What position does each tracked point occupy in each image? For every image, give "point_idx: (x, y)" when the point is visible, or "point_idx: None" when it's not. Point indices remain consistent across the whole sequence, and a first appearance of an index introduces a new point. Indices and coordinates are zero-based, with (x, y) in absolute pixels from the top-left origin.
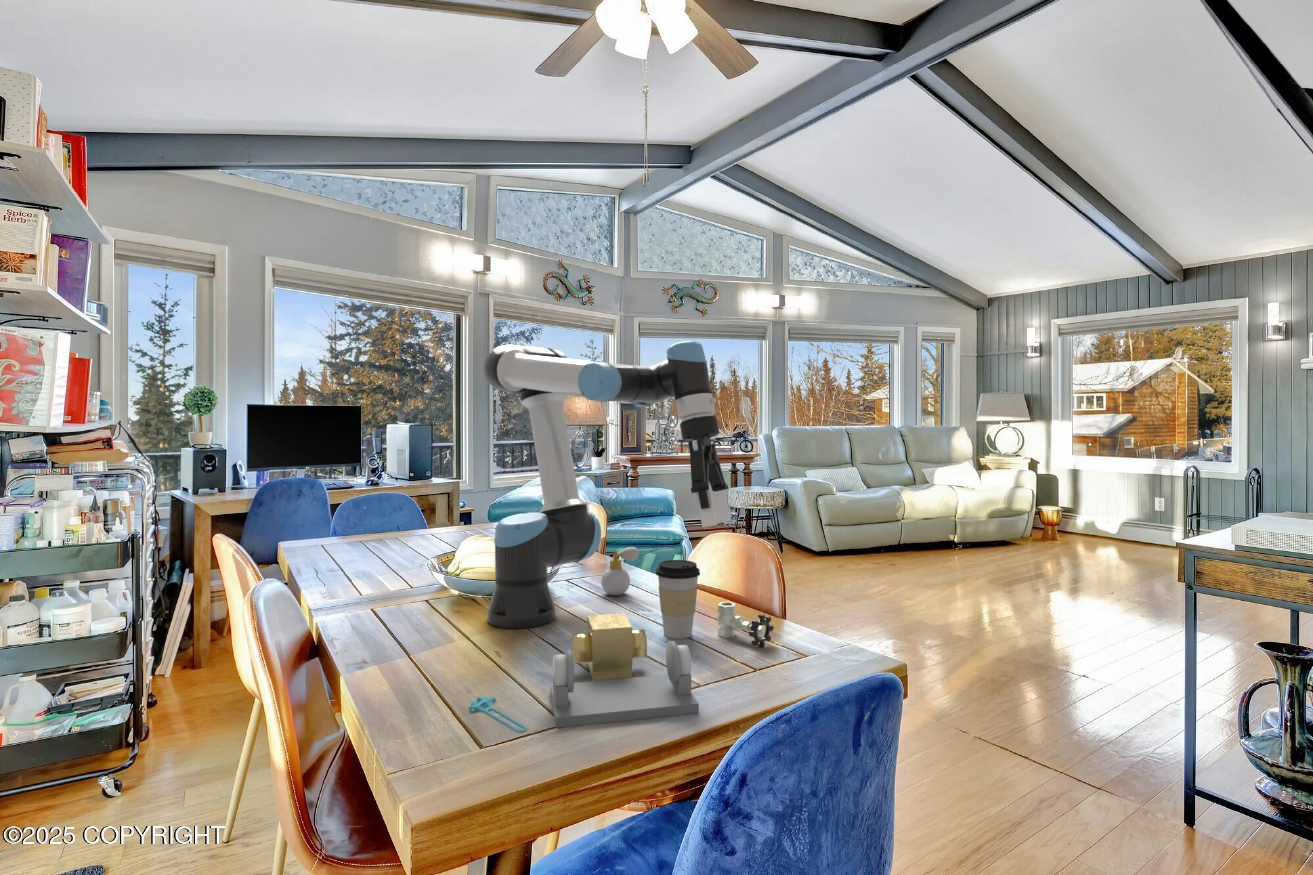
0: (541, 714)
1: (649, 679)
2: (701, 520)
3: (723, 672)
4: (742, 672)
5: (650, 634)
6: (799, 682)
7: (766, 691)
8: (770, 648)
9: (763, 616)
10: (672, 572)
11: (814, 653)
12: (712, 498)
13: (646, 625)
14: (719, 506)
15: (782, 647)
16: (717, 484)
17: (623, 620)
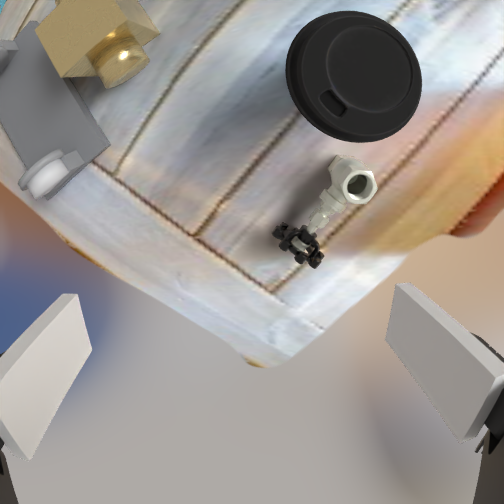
0: None
1: (74, 117)
2: (49, 309)
3: (166, 194)
4: (177, 219)
5: None
6: (175, 288)
7: (133, 255)
8: None
9: (298, 262)
10: (297, 67)
11: (284, 301)
12: (471, 352)
13: None
14: (430, 351)
15: None
16: (494, 450)
17: (86, 43)
